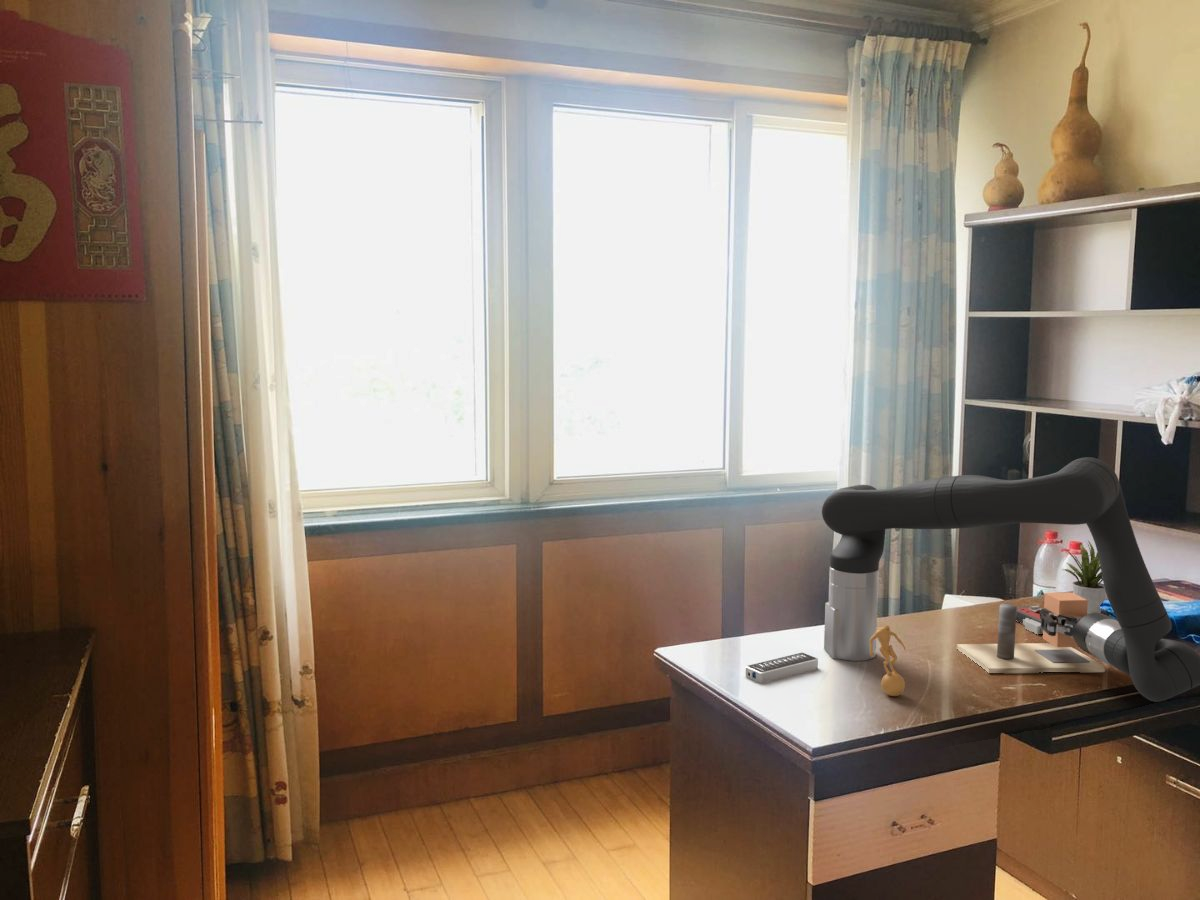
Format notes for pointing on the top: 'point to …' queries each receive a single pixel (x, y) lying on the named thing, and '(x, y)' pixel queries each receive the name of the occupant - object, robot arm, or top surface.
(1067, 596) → the tall salmon pillar
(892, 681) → the figurine
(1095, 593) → the house plant
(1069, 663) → the post stand
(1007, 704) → the top surface
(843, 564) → the robot arm
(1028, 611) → the walkie-talkie
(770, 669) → the multiport hub
